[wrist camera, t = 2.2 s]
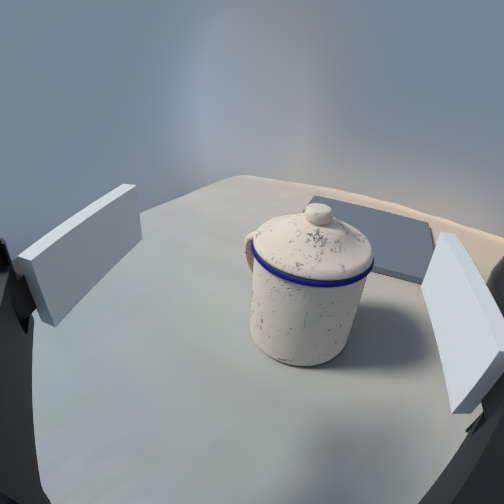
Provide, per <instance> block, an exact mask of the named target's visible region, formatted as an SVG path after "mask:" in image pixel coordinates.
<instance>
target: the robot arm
mask: <svg viewBox="0 0 504 504" xmlns="http://www.w3.org/2000/svg"><path fill="white" fill-rule="evenodd" d="M141 240H142V232H141V223H140V214H139V204H138V194H137V185H129V184H122V185H121V186H119V187H117V188H116V189H114V190H113V191H111V192H109V193H108V194H106V195H105V196H103V197H101V198H100V199H98V200H97V201H95V202H94V203H92V204H90V205H89V206H87V207H86V208H84V209H83V210H81V211H80V212H78V213H77V214H75V215H74V216H72V217H71V218H69V219H68V220H66V221H65V222H64V223H62V224H61V225H59V226H58V227H56V228H55V229H53V230H52V231H51V232H49V233H48V234H47V235H45V236H44V237H42V238H41V239H40V240H38V241H37V242H36V243H34V244H33V245H32V246H30V247H29V248H28V249H26V250H25V251H24V252H22V253H21V254H20V255H18V257H17V258H16V259H15V260H13V261H11V259H10V255H9V252H8V249H7V246H6V243H5V240H4V239H3V238H0V504H51V503H50V501H49V499H48V498H47V496H46V494H45V493H44V491H43V489H42V486H41V483H40V477H39V470H38V463H37V456H36V447H35V437H34V425H33V408H32V348H33V330H34V319H33V316H32V314H31V313H32V312H33V311H34V310H35V309H36V308H37V311H38V313H39V316H40V318H41V320H42V321H43V322H45V323H47V324H49V325H52V326H54V327H56V326H57V325H58V324H59V323H60V322H61V321H62V320H63V319H64V317H65V316H66V315H67V314H68V313H69V312H70V311H71V310H72V309H73V308H74V307H75V306H76V305H77V304H78V302H79V301H80V300H81V299H82V298H83V297H84V296H85V295H86V294H87V293H88V292H89V291H90V290H91V289H92V288H93V287H94V286H95V285H96V284H97V283H98V282H99V281H100V280H101V279H102V278H103V277H104V276H105V275H106V274H107V273H108V272H109V271H110V270H111V269H112V268H113V267H114V266H115V265H116V264H117V263H118V262H119V261H120V260H121V259H122V258H123V257H124V256H125V255H126V254H127V253H128V252H129V251H130V250H131V249H132V248H133V247H134V246H135V245H137V244H138V243H139V242H140V241H141ZM421 289H422V292H423V295H424V299H425V302H426V305H427V309H428V312H429V315H430V319H431V323H432V326H433V330H434V334H435V338H436V341H437V345H438V349H439V354H440V358H441V362H442V367H443V371H444V376H445V381H446V386H447V391H448V396H449V401H450V407H451V413H452V414H470V413H472V412H473V410H474V409H475V408H476V407H477V406H478V405H479V404H480V402H481V403H482V407H483V412H482V414H481V415H480V416H479V417H478V418H477V419H476V420H475V421H474V422H473V423H472V424H471V425H470V426H469V427H468V428H467V429H466V430H465V431H466V432H469V431H470V432H469V433H468V435H467V436H466V438H465V440H464V441H463V443H462V444H461V446H460V448H459V449H458V451H457V452H456V454H455V455H454V457H453V458H452V460H451V461H450V462H449V464H448V465H447V467H446V468H445V470H444V471H443V472H442V474H441V475H440V476H439V478H438V479H437V480H436V482H435V483H434V484H433V486H432V487H431V488H430V490H429V491H428V492H427V493H426V495H425V496H424V497H423V498H422V499H421V501H420V502H419V503H418V504H504V256H503V258H502V259H501V260H500V261H499V263H498V264H497V265H496V266H495V267H494V268H493V270H492V272H491V274H490V277H489V279H488V281H487V283H486V284H485V282H484V280H483V278H482V277H481V275H480V273H479V271H478V270H477V268H476V266H475V265H474V263H473V261H472V260H471V258H470V256H469V255H468V253H467V251H466V250H465V248H464V247H463V245H462V244H461V242H460V240H459V239H458V237H457V236H456V235H454V234H449V233H445V232H440V235H439V238H438V241H437V244H436V247H435V250H434V253H433V256H432V258H431V261H430V264H429V267H428V269H427V272H426V275H425V277H424V280H423V283H422V285H421Z"/></svg>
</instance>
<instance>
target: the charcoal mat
mask: <svg viewBox="0 0 504 504" xmlns="http://www.w3.org/2000/svg"><path fill="white" fill-rule="evenodd" d="M312 203H321V204H325V205H327V206H329V207H331V209H332V210H333V217H334V218H336V219H338V220H340V221H342V222H345V223H347V224H349V225H351V226H353V227H354V228H356V229H357V230H359V231H360V232H361V233H362V234H364V235H365V236H366V238H367V239H368V240H369V242H370V244H371V246H372V248H373V252H374V265H373V268H372V270H371V271H372V272H376V273H380V274H384V275H388V276H391V277H395V278H399V279H403V280H407V281H410V282H414V283H418V284H422V283H423V280H424V277H425V275H426V272H427V269H428V267H429V264H430V261H431V258H432V256H433V253H434V248H433V243H432V238H431V233H430V228H429V223H427V222H423V221H419V220H416V219H412V218H408V217H404V216H400V215H396V214H392V213H389V212H385V211H380V210H376V209H372V208H368V207H364V206H360V205H355V204H351V203H347V202H342V201H338V200H333V199H329V198H324V197H320V196H314V197H313V198H312V200H311V201H310V202H309V204H312ZM309 204H308V205H309ZM308 205H307V206H308ZM302 213H305V209H304V211H303V212H302Z"/></svg>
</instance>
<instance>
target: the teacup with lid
mask: <svg viewBox="0 0 504 504" xmlns="http://www.w3.org/2000/svg"><path fill="white" fill-rule="evenodd" d="M244 257H245V261H246V264H247V267H248V269H249V271H250V273H251V275H252V276H253V285H252V304H251V322H250V329H251V334H252V337H253V339H254V341H255V343H256V344H257V346H258V347H259V348H260V349H261V350H262V351H263V352H264V353H266V354H267V355H268V356H270V357H272V358H273V359H275V360H278V361H280V362H283V363H286V364H290V365H295V366H312V365H318V364H321V363H324V362H327V361H329V360H331V359H332V358H334V357H335V356H337V355H338V354H339V353H340V352H341V351H342V349H343V348H344V346H345V344H346V342H347V339H348V336H349V333H350V330H351V327H352V324H353V321H354V318H355V315H356V312H357V308H358V305H359V302H360V299H361V295H362V292H363V289H364V285H365V282H366V278H367V275H368V274H369V273H370V271H371V270H372V268H373V265H374V252H373V248H372V246H371V244H370V242H369V240H368V239H367V238H366V236H365V235H364V234H362V233H361V232H360V231H359V230H357V229H356V228H354V227H353V226H351V225H349V224H347V223H345V222H342V221H340V220H338V219H336V218H334V217H333V210H332V209H331V207H329V206H327V205H325V204H321V203H312V204H309V205H308V206H307V207H306V208H305V213H299V214H289V215H283V216H279V217H275V218H273V219H270V220H268V221H267V222H265V223H264V224H262V225H261V226H260V227H259V228H258V230H257V231H254V232H251V233H249V234H248V235H247V236H246V238H245V240H244Z"/></svg>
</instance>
